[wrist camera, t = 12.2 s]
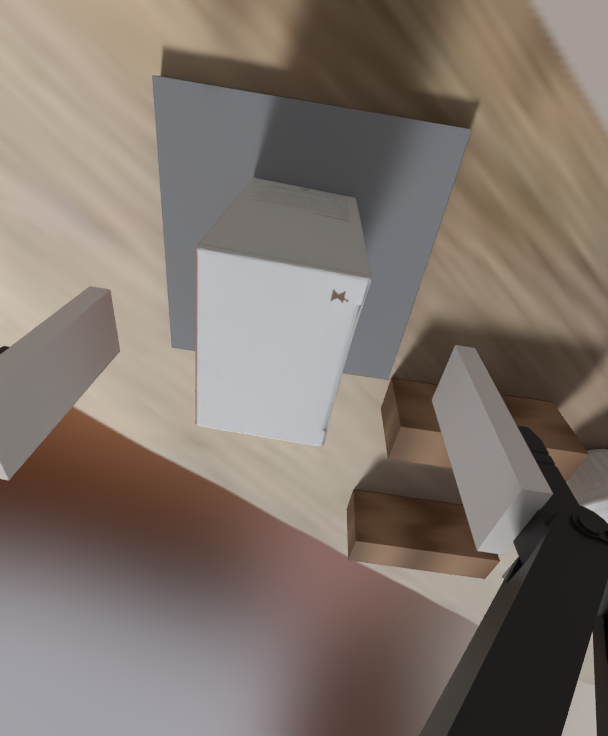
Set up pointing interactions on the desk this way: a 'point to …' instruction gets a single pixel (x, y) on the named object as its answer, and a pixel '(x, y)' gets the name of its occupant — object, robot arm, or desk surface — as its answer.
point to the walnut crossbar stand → (430, 518)
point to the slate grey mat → (309, 170)
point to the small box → (277, 310)
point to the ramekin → (592, 482)
